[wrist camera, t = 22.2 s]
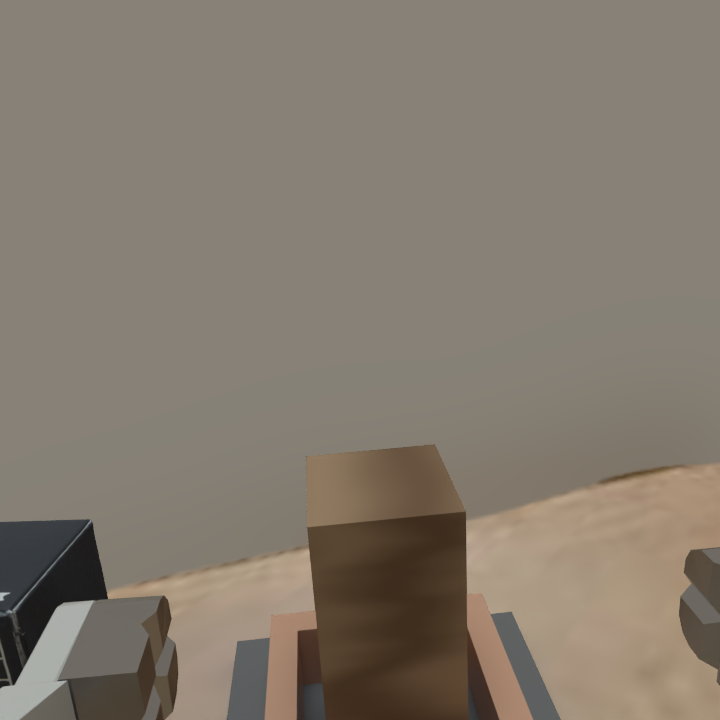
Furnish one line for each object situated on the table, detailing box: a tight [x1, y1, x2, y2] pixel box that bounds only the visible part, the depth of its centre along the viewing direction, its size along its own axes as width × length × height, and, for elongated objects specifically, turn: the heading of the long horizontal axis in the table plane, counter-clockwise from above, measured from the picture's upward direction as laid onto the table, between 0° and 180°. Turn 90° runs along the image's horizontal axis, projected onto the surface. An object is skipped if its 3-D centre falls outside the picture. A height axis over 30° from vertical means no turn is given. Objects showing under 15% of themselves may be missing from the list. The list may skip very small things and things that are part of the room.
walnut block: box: [306, 445, 468, 720], centre depth 25 cm, size 5×5×12 cm
